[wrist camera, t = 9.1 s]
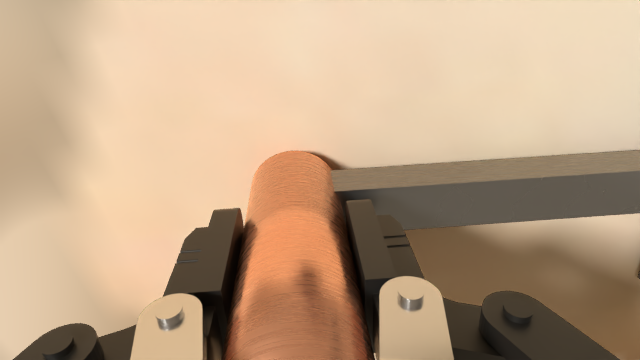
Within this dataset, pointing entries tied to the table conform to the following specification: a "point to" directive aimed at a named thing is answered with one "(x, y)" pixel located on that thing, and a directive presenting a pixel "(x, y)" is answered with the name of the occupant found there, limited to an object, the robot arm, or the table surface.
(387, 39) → the table surface
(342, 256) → the pull frame
